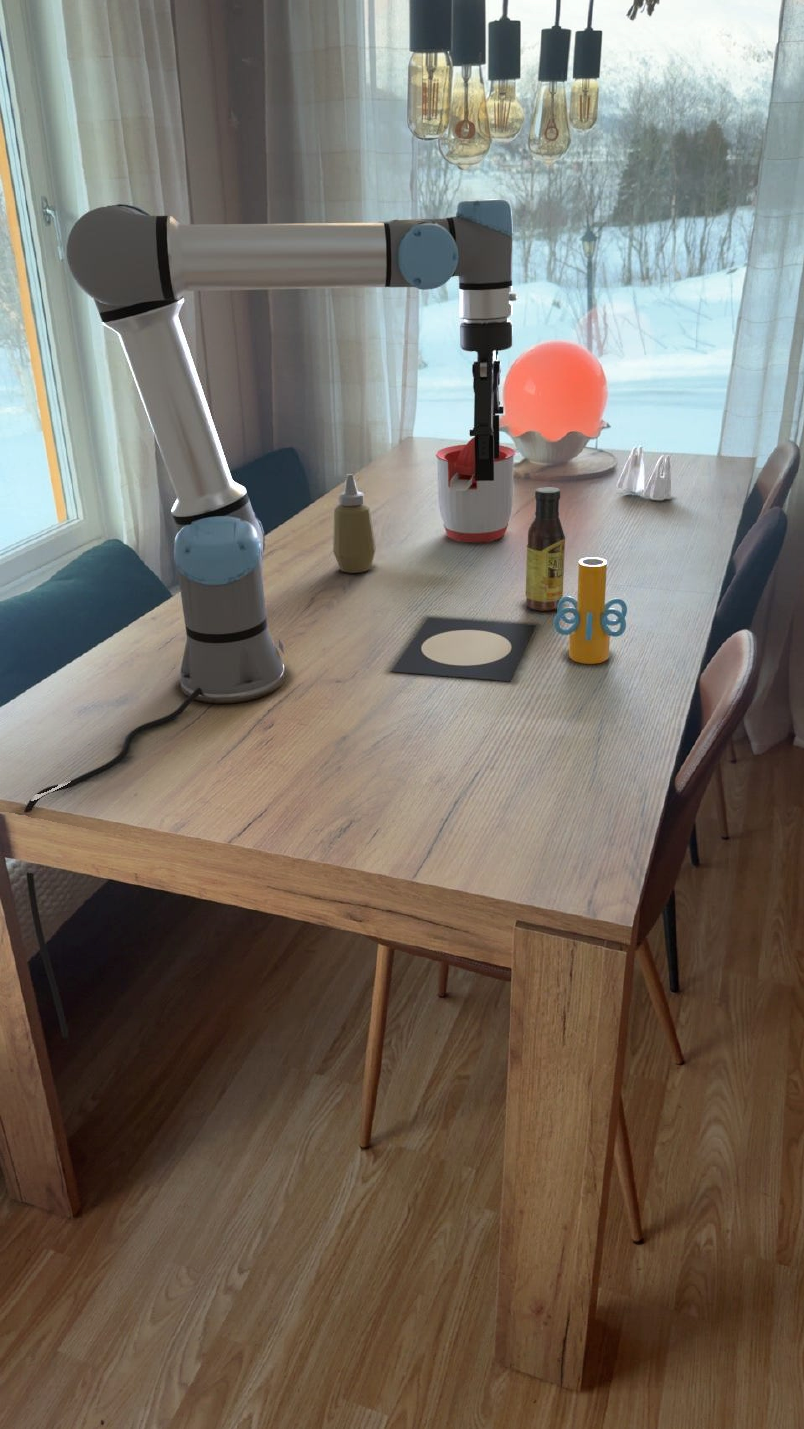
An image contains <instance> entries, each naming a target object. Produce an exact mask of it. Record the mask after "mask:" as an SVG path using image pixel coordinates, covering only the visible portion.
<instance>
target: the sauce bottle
mask: <svg viewBox="0 0 804 1429" xmlns="http://www.w3.org/2000/svg"><path fill="white" fill-rule="evenodd" d="M534 494H535V496H534V498H535V512H534V514H535V518H534V519H533V521H532V522H531V523H530V526H529V527H528V531H527V544H526V566H525V570H526V571H525V597H526V600H525V604H526V606H527V607H528V608H529V609H531V610H535V611H539V612H545V611H546V612H547V611H553V610H556V609H557V605H558V602H559V600H560V599H561V598H563V597H564V578H565V576H564V574H565V552H566V550H565V549H566V536H565V532H564V530H563V525H562V522H561V520H560V513H559V512H560V510H559V508H560V500H561V490H560V489H559V488H557V487H553V486H548V487H547V486H545V487H544V486H543V487H538V488H536V489H535V492H534Z"/></svg>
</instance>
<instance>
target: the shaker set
mask: <svg viewBox="0 0 804 1429" xmlns="http://www.w3.org/2000/svg"><path fill="white" fill-rule="evenodd" d="M643 448H644V447H643V446H642V445H639V447H637V445H636V446H634V447H633V448H632V450H631V452H630V453H629V456H628V458H627V460H626V462H625V465H624V467H623V470H622V471H621V474H620V477H619V478H618V481H617V483H616V488H617V489H618V490H619V491H622V492H623V493H626V494H630V495H637V494H638V493H640V492H642V491H643V493H642V497H643V498H650V499H651V500H654V501H664V500H671V499H672V477H671V476H672V474H671V458H670V455H669V454H667V455H665V459H664V455H661V456H660V457H659V459H658V460H657V463H656V464H655V467H654V469H653V470H652V473H651V476H650V478H649V480H648V482H647V484H646V486H645V459H644V458H645V457H644V449H643ZM637 449H638V450H637Z"/></svg>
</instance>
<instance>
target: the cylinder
mask: <svg viewBox="0 0 804 1429" xmlns="http://www.w3.org/2000/svg"><path fill="white" fill-rule="evenodd" d="M607 568H608V561H607V560H606V559H604V558H601V557H584V558H581V559H579V560H578V570H577V571H578V573H577V574H578V575H577V576H578V577H577V599H576V598H574V597H572V596H569V595H568V596H567V595H565V596H563V597H562V598H561V599H560V600H559V602H558V605H557V610H556V611H557V613H556V615H555V617H554V619H553V627H554V630H555V631H556V633H558V634H560V635H561V636H569V637H568V638H569V639H568V656H569V659H571V660H572V661H573V662H576V663H579V664H584V665H585V664H586V665H595V664H600V663H604V662H605V661H607V660H608V659H609V657H610V642H611V637H615V638H616V637H617V638H618V637H621V635H623V634H624V633H625V631H626V628H627V620H626V617H627V614H628V606H627V603H626V602H625V601H624V600H623V599H621V598H612V599H610V600H608V601H607V602H606V588H607V570H608V569H607ZM566 602H567V603H570V604H572V606H573V607H572V606H568V607H563V606H564V604H565V603H566ZM614 605H619V606H620V607H621V611H620V610H618V609H616V608H610V607H612V606H614ZM567 613H569V614H572V615H573V617H572V618H569V617H567V615H566V614H567ZM609 615H614V616H615V617H616V619H613V620H611V619H609V618H608V616H609ZM560 620H562V621H563V622H564V623H565V624H569V625H571V624H572V625H571V627H569V628H567V629H564V628H562V627H561V626H560ZM619 624H620V627H619V629H617V630H615V631H614V630H612V629H610V627H609V626H611V627H614V626H618V625H619Z"/></svg>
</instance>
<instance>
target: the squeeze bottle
mask: <svg viewBox="0 0 804 1429" xmlns="http://www.w3.org/2000/svg"><path fill="white" fill-rule="evenodd" d="M345 476H346V477H345V483H344V490H343V492H340V493H339V494H338V496H337V497H338V505H337V506H336V507H335V508H334V509H333V511H334V512H333V536H332V537H333V541H332V542H333V543H332V553H333V555H334V557H335V560H336V562H337V564H338V568H339V570H340V571H342V572H344V573H349V574H358V573H363V572H367V571H368V570H370V569H371V568H372V566H373V565H372V564H373V561H374V558H375V554H376V552H377V548H376V540H375V534H374V527H373V522H372V521H373V520H372V515H371V509H370V508H371V507H370V506H369V505H368V504H366V503H365V494H364V492H362V491H358V487H357V483H356V480H355V477H354V474H353V473H347V474H346V475H345Z"/></svg>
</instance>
